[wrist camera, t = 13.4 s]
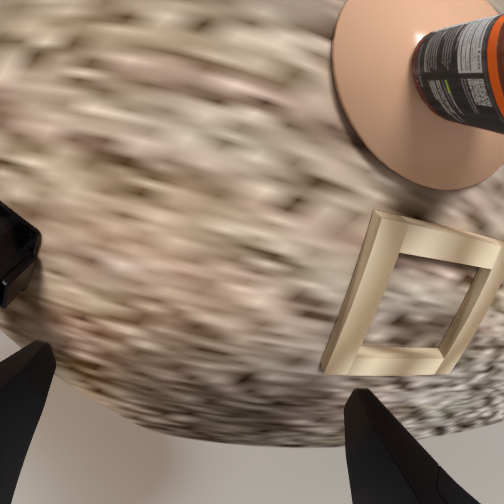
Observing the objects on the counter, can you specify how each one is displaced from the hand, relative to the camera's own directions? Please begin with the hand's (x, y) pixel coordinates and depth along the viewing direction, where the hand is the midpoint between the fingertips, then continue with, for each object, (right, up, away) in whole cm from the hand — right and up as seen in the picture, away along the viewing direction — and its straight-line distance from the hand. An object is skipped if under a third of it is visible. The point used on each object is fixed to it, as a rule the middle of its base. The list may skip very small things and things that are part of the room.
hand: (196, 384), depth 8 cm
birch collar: (+15, 0, +15) cm, 21 cm away
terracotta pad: (+13, +15, +7) cm, 21 cm away
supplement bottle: (+13, +14, +7) cm, 21 cm away
